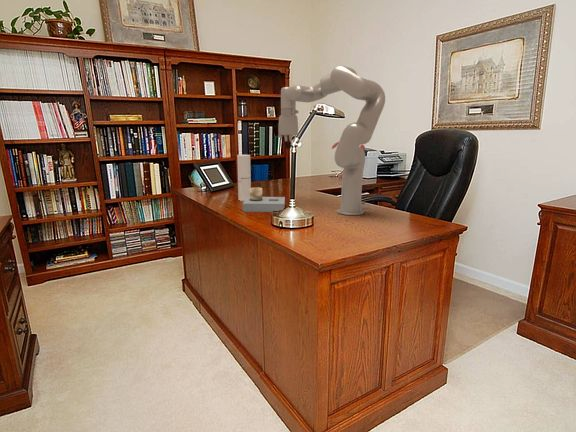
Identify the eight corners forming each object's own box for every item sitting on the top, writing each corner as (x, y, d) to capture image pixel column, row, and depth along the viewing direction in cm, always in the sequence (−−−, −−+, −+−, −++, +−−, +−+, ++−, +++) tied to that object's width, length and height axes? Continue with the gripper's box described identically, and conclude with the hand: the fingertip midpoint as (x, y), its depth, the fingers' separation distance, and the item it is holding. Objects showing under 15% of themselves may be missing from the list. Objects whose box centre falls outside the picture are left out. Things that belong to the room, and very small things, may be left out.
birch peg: (263, 206, 181) (262, 187, 179) (262, 208, 175) (261, 189, 172) (250, 206, 181) (250, 187, 179) (249, 208, 175) (248, 189, 172)
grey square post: (248, 201, 194) (247, 155, 188) (236, 200, 196) (235, 155, 190) (252, 198, 201) (251, 154, 195) (240, 198, 202) (239, 154, 196)
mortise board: (284, 204, 186) (284, 197, 185) (284, 212, 169) (284, 203, 168) (247, 204, 187) (247, 196, 186) (242, 211, 169) (242, 203, 168)
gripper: (302, 113, 182) (302, 149, 187) (273, 113, 182) (274, 149, 187) (303, 112, 175) (302, 149, 179) (273, 112, 175) (273, 149, 179)
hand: (288, 149), depth 183 cm, fingers closed
